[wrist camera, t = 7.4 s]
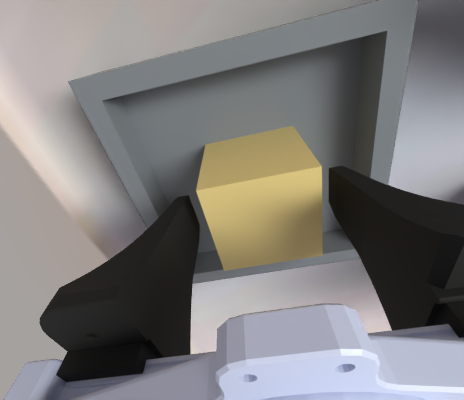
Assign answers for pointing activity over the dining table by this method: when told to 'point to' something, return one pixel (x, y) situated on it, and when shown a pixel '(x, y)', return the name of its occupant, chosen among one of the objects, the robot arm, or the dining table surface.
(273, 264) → the tray
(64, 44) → the dining table surface
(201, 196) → the mustard block
